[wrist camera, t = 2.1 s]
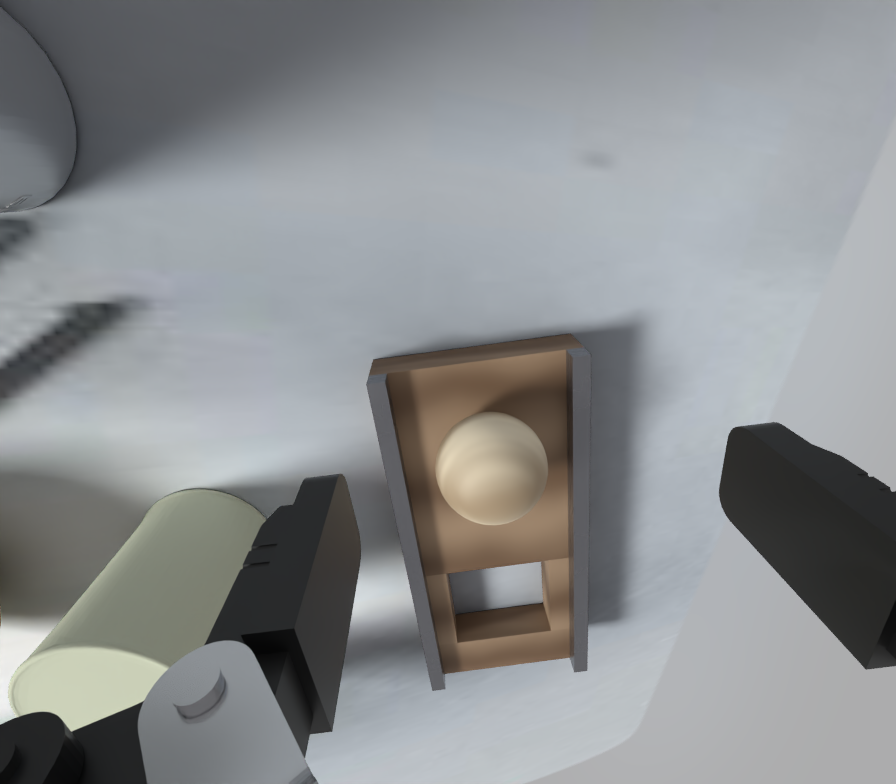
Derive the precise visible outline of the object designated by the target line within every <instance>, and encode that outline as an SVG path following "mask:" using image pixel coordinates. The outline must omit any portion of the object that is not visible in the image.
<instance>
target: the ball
mask: <svg viewBox="0 0 896 784" xmlns="http://www.w3.org/2000/svg"><path fill="white" fill-rule="evenodd" d="M435 469H436V478H437V482H438V486H439V488H440V491H441V493H442V495H443V497H444V498H445V500H446V501H447V503H448V504H449V505H450V506H451V508H453V509H454V510H455V511H456V512H457V513H458V514H460V515H461V516H462V517H464V518H466V519H468V520H470V521H473V522H475V523H479V524H483V525H501V524H506V523H510V522H512V521H515V520H517V519H519V518H521V517H523V516H524V515H525V514H527V513H528V512H529V511H530V510H531V509H532V508H533V507H534V506H535V505H536V504H537V502H538V501H539V499H540V498H541V496H542V494H543V491H544V489H545V486H546V482H547V476H548V463H547V457H546V453H545V450H544V447H543V445H542V443H541V441H540V439H539V438H538V436H537V435H536V433H535V432H534V431H533V430H532V429H531V428H530V427H529V426H528V425H527V424H525V423H524V422H522V421H521V420H519V419H517V418H516V417H513V416H511V415H508V414H505V413H500V412H482V413H477V414H474V415H471V416H469V417H466V418H465V419H463V420H461V421H460V422H458V423H457V424H456V425H454V426H453V427H452V428H451V429H450V430H449V432H448V433H447V434H446V436H445V437H444V439H443V440H442V442H441V444H440V447H439V450H438V453H437V457H436V468H435Z"/></svg>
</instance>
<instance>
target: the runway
mask: <svg viewBox="0 0 896 784" xmlns="http://www.w3.org/2000/svg"><path fill="white" fill-rule="evenodd" d="M366 385H367V390H368V394H369V399H370V403H371V408H372V413H373V417H374V422H375V427H376V431H377V436H378V441H379V445H380V450H381V454H382V459H383V464H384V468H385V473H386V478H387V482H388V487H389V491H390V496H391V501H392V505H393V510H394V515H395V519H396V524H397V528H398V533H399V538H400V542H401V547H402V552H403V556H404V561H405V566H406V570H407V575H408V579H409V584H410V589H411V593H412V598H413V603H414V607H415V612H416V616H417V621H418V626H419V630H420V635H421V640H422V644H423V649H424V654H425V658H426V663H427V667H428V672H429V677H430V681H431V686H432V691H434V690H442V689H445V674H447V673H455V672H462V671H470V670H478V669H485V668H493V667H501V666H509V665H516V664H524V663H532V662H539V661H547V660H555V659H562V658H570V660H571V663H572V666H573V670H574V672H581V671H587V652H588V575H589V498H590V421H591V354H590V353H589V352H588V351H587V350H586V349H585V348H584V347H583V346H582V345H581V344H580V343H579V342H578V341H577V340H576V339H575V338H574V337H573V336H572V335H571V334H565V335H557V336H550V337H542V338H535V339H527V340H519V341H512V342H504V343H497V344H489V345H482V346H474V347H467V348H459V349H452V350H444V351H436V352H429V353H421V354H414V355H406V356H399V357H391V358H384V359H376V360H373V362H372V366H371V370H370V373H369V377H368V380H367V384H366ZM482 412H500V413H505V414H508V415H511V416H513V417H516V418H517V419H519V420H521V421H522V422H524V423H525V424H527V425H528V426H529V427H530V428H531V429H532V430H533V431H534V432H535V433H536V435H537V436H538V438H539V439H540V441H541V443H542V445H543V447H544V450H545V453H546V457H547V463H548V476H547V482H546V486H545V489H544V491H543V494H542V496H541V498H540V499H539V501H538V502H537V504H536V505H535V506H534V507H533V508H532V509H531V510H530V511H529V512H528V513H527V514H525V515H524V516H523V517H521V518H519V519H517V520H515V521H512V522H510V523H506V524H501V525H483V524H479V523H475V522H473V521H470V520H468V519H466V518H464V517H462V516H461V515H460V514H458V513H457V512H456V511H455V510H454V509H453V508H451V506H450V505H449V504H448V503H447V501H446V500H445V498H444V497H443V495H442V493H441V491H440V488H439V486H438V482H437V478H436V469H435V468H436V457H437V453H438V450H439V447H440V444H441V442H442V440H443V439H444V437H445V436H446V434H447V433H448V432H449V430H450V429H451V428H452V427H453V426H454V425H456V424H457V423H458V422H460V421H461V420H463V419H465V418H466V417H469V416H471V415H474V414H477V413H482ZM540 561H541V566H542V588H543V603H541V604H533V605H525V606H518V607H510V608H502V609H495V610H487V611H479V612H472V613H464V614H456V615H455V610H454V604H453V598H452V592H451V586H450V580H449V573H456V572H463V571H471V570H479V569H486V568H494V567H501V566H509V565H517V564H524V563H532V562H540Z"/></svg>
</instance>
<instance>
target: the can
mask: <svg viewBox="0 0 896 784" xmlns="http://www.w3.org/2000/svg"><path fill="white" fill-rule="evenodd" d="M265 521H266V518H265V517H264V516H263V515H262V514H261V513H260V512H259V511H258V510H257V509H255V508H254V507H253V506H251V505H250V504H248V503H247V502H245V501H243V500H241V499H239V498H237V497H235V496H232V495H230V494H226V493H223V492H219V491H214V490H205V489H194V490H185V491H180V492H176V493H173V494H170V495H168V496H166V497H164V498H162V499H161V500H159V501H158V502H156V503H155V504H154V505H153V506H152V507H151V508H150V509H149V510H148V512H147V513H146V515H145V516H144V518H143V521H142V522H141V524H140V525H139V526H138V528H137V529H136V530H135V531H134V533H133V534H132V535H131V536H130V538H129V539H128V540H127V541H126V543H125V544H124V545H123V546H122V547H121V549H120V550H119V551H118V552H117V554H116V555H115V556H114V557H113V558H112V560H111V561H110V562H109V563H108V565H107V566H106V567H105V568H104V569H103V571H102V572H101V573H100V574H99V575H98V577H97V578H96V579H95V580H94V581H93V583H92V584H91V585H90V586H89V587H88V589H87V590H86V591H85V592H84V593H83V595H82V596H81V597H80V598H79V599H78V601H77V602H76V603H75V604H74V605H73V607H72V608H71V609H70V610H69V611H68V613H67V614H66V615H65V616H64V617H63V618H62V620H61V621H60V622H59V623H58V624H57V626H56V627H55V628H54V629H53V630H52V631H51V633H50V634H49V635H48V636H47V637H46V638H45V640H44V641H43V642H42V643H41V644H40V645H39V646H38V647H37V649H36V650H35V651H34V652H33V653H32V654H31V655H30V657H29V658H28V659H27V660H26V661H24V662H23V663H22V664H21V665H20V666H19V667H18V669H17V670H16V671H15V673H14V674H13V676H12V678H11V680H10V683H9V689H8V698H9V702H10V706H11V708H12V710H13V712H14V714H15V715H16V717H19V716H22V715H25V714H29V713H33V712H51V713H54V714H56V715H58V716H59V717H60V718H61V719H62V720H63V722H64V723H65V724H66V726H67V727H68V728H69V729H70V731H74V730H76V729H79V728H81V727H83V726H86V725H88V724H91V723H93V722H95V721H98V720H100V719H103V718H105V717H108V716H110V715H112V714H115V713H117V712H120V711H122V710H124V709H127V708H129V707H132V706H134V705H136V704H138V703H140V702H143V701H144V700H145V698H146V696H147V694H148V693H149V691H150V690H151V688H152V687H153V685H154V684H155V683H156V682H157V680H158V679H159V678H160V677H161V676H162V675H163V674H164V673H165V672H166V671H167V670H168V669H169V668H170V667H171V666H172V665H173V664H174V663H176V662H177V661H178V660H179V659H181V658H182V657H184V656H185V655H187V654H188V653H190V652H192V651H194V650H195V649H197V648H200V647H202V646H204V644H205V643H206V641H207V638H208V636H209V634H210V632H211V630H212V628H213V626H214V624H215V622H216V620H217V617H218V615H219V613H220V611H221V609H222V607H223V605H224V603H225V601H226V599H227V596H228V594H229V592H230V590H231V588H232V586H233V584H234V582H235V580H236V577H237V575H238V573H239V571H240V569H243V563H244V561H245V559H246V556H247V554H248V552H249V551H251V546H252V544H253V542H254V540H255V538H256V535H257V533H258V531H259V529H260V527H261V525H262V524H263V523H264V522H265Z"/></svg>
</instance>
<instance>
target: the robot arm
mask: <svg viewBox="0 0 896 784" xmlns="http://www.w3.org/2000/svg"><path fill="white" fill-rule="evenodd" d="M76 149H77V148H76V125H75V121H74V116H73V112H72V107H71V103H70V100H69V98H68V96H67V93H66V91H65V88H64V86H63V83H62V81H61V79H60V77H59V75H58V73H57V72H56V70H55V68H54V67H53V65H52V64H51V62H50V60H49V59H48V57H47V55H46V54H45V52H44V51H43V50H42V49H41V48H40V46H39V45H38V44H37V43H36V41H35V40H34V39H33V38H32V37H31V35H30V34H29V33H28V32H27V31H26V30H25V29H24V28H23V27H22V26H21V25H20V24H19V23H18V22H16V21H15V20H14V19H13V18H12V17H11V16H10V15H9V14H8V13H7V12H5V11H4V10H3V9H2V8H1V7H0V213H3V212H17V211H23V210H26V209H30V208H34V207H38V206H39V205H41V204H43V203H44V202H46V201H48V200H50V199H51V198H53V197H54V196H55V195H56V193H57V192H58V191H59V190H60V189H61V188H62V187H63V186H64V185H65V183H66V181H67V179H68V177H69V175H70V173H71V171H72V169H73V164H74V159H75V154H76ZM719 497H720V502H721V505H722V508H723V510H724V512H725V514H726V516H727V517H728V519H729V520H730V521H731V522H732V523H733V525H734V526H735V527H736V528H737V529H738V530H739V531H740V532H741V533H742V534H743V535H744V537H745V538H746V539H747V540H748V541H749V542H750V543H751V544H752V545H753V546H754V547H755V549H757V551H758V552H759V553H760V554H761V555H762V556H763V557H764V558H765V559H766V561H767V562H768V563H769V564H770V565H771V566H772V567H773V568H774V569H775V570H776V572H777V573H779V575H780V576H781V577H782V578H783V579H784V580H785V581H786V582H787V584H788V585H789V586H790V587H791V588H792V589H793V590H794V591H795V592H796V593H797V595H798V596H799V597H800V598H801V599H802V600H803V601H804V602H805V603H806V604H807V605H808V607H809V608H810V609H811V610H812V611H813V612H814V613H815V614H816V615H817V616H818V617H819V619H820V620H821V621H822V622H823V623H824V624H825V625H826V626H827V627H828V628H829V630H830V631H831V632H832V633H833V634H834V635H835V636H836V637H837V638H838V639H839V640H840V642H842V644H843V645H844V646H845V647H846V648H847V649H848V650H849V651H850V652H851V653H852V654H853V656H854V657H855V658H856V659H857V660H858V661H859V662H860V663H861V665H862V666H863V667H864V668H865V669H874V668H882V667H890V666H896V491H895V492H891V490H890V487H888V486H887V485H885V484H884V483H882V482H881V481H879V480H878V479H876V478H874V477H869V476H868V473H867V472H865V471H864V470H862V469H860V468H859V467H858V466H856V465H854V464H853V463H851V462H850V461H848V460H847V459H845V458H844V457H842V456H840V455H837V454H835V453H832V452H830V451H827V450H825V449H822V448H820V447H817V446H815V445H812V444H810V443H809V442H807V441H806V440H804V439H803V438H801V437H800V436H798V435H797V434H795V433H794V432H792V431H791V430H789V429H788V428H786V427H785V426H783V425H782V424H779V423H775V422H772V423H764V424H756V425H748V426H739V427H735V428H733V429H732V430H731V432H730V434H729V436H728V441H727V446H726V452H725V458H724V464H723V470H722V475H721V481H720V487H719ZM360 559H361V545H360V536H359V531H358V526H357V522H356V518H355V514H354V510H353V506H352V502H351V498H350V494H349V490H348V486H347V482H346V479H345V477H344V476H343V474H336V475H328V476H320V477H312V478H306V479H304V480H303V482H302V485H301V487H300V490H299V492H298V494H297V497H296V499H295V502H294V504H293V505H287V506H280V507H279V508H278V509H277V510H276V511H275V512H274V513H273V514H272V515H271V516H270V517H269V518H268V519H267V520H266V521H265V522H264V523H263V524H262V525H261V527H260V529H259V531H258V533H257V535H256V538H255V540H254V542H253V544H252V546H251V551H249V552H248V554H247V556H246V559H245V561H244V563H243V569H240V571H239V573H238V575H237V577H236V580H235V582H234V584H233V586H232V588H231V590H230V592H229V594H228V596H227V599H226V601H225V603H224V605H223V607H222V609H221V611H220V613H219V615H218V617H217V620H216V622H215V624H214V626H213V628H212V630H211V632H210V634H209V636H208V638H207V641H206V643H205V644H204V646H202V647H200V648H197V649H195V650H194V651H192V652H190V653H188V654H187V655H185V656H184V657H182V658H181V659H179V660H178V661H177V662H176V663H174V664H173V665H172V666H171V667H170V668H169V669H168V670H167V671H166V672H165V673H164V674H163V675H162V676H161V677H160V678H159V679H158V680H157V682H156V683H155V684H154V685H153V687H152V688H151V690H150V691H149V693H148V694H147V696H146V698H145V700H144V701H143V702H140V703H138V704H136V705H134V706H132V707H129V708H127V709H124V710H122V711H120V712H117V713H115V714H112V715H110V716H108V717H105V718H103V719H100V720H98V721H95V722H93V723H91V724H88V725H86V726H83V727H81V728H79V729H76V730H74V731H70V729H69V728H68V727H67V726H66V724H65V723H64V722H63V720H62V719H61V718H60V717H59V716H58V715H56V714H54V713H51V712H33V713H29V714H25V715H22V716H19V717H17V718H14V719H12V720H10V721H7V722H5V723H3V724H1V725H0V784H318V782H317V780H316V779H315V777H314V776H313V775H312V773H311V771H310V769H309V767H308V765H307V763H306V760H305V755H306V750H307V745H308V740H309V736H310V734H316V733H324V732H332V729H333V723H334V717H335V711H336V705H337V699H338V693H339V687H340V681H341V675H342V669H343V663H344V657H345V651H346V645H347V639H348V633H349V627H350V621H351V615H352V609H353V603H354V597H355V591H356V585H357V579H358V573H359V567H360Z"/></svg>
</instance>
